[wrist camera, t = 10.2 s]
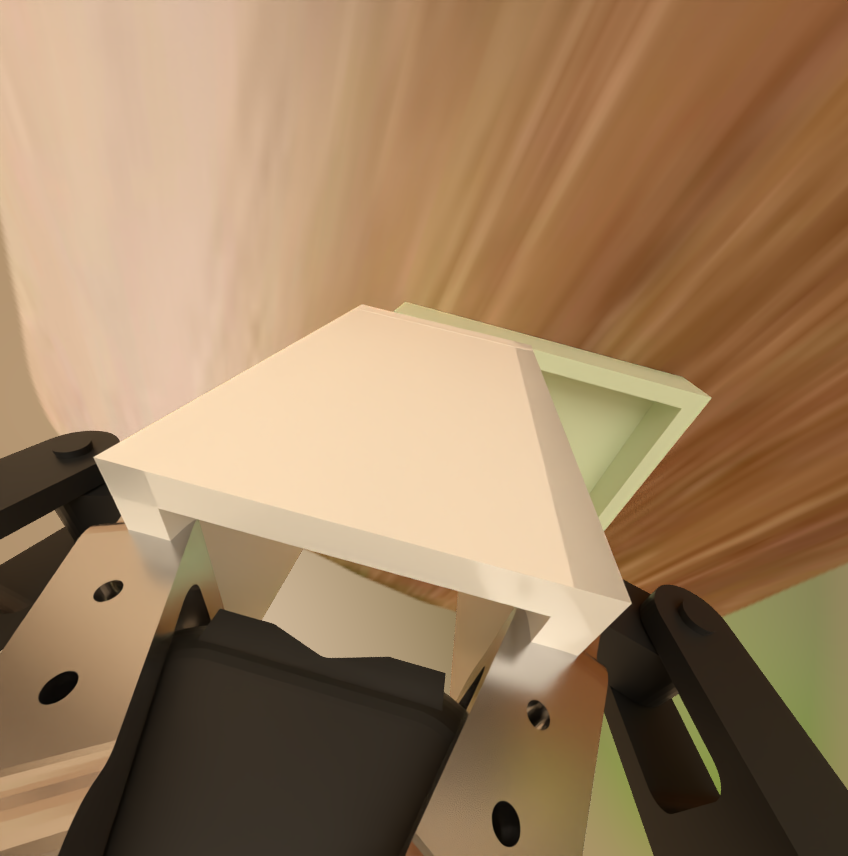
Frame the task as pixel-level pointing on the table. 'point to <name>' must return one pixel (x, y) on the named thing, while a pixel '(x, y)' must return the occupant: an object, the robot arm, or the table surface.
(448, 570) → the mini side table
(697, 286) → the table surface
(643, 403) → the tray
